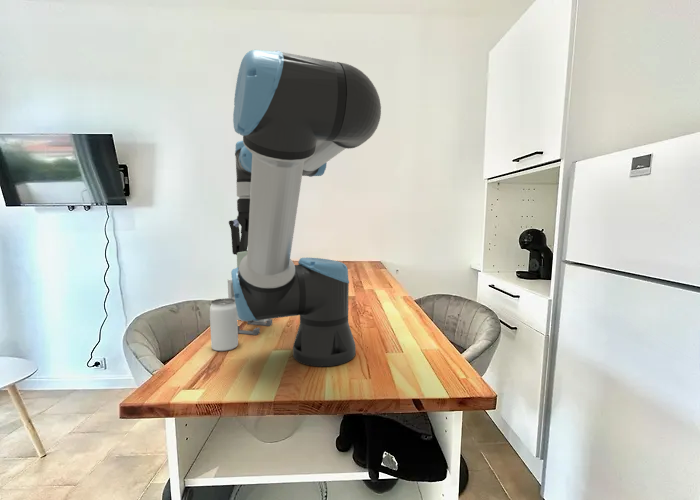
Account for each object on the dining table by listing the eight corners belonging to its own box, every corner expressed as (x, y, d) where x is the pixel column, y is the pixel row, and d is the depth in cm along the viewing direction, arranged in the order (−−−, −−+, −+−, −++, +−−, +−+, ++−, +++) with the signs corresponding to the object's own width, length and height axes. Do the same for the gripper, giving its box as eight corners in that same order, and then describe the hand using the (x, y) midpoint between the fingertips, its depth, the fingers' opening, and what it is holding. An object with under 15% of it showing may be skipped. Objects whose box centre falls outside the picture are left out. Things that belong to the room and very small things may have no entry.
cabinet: (256, 335, 98) (255, 289, 97) (208, 330, 102) (206, 286, 100) (284, 315, 116) (283, 277, 115) (242, 312, 120) (241, 275, 118)
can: (229, 352, 86) (227, 305, 85) (206, 350, 87) (203, 303, 86) (242, 343, 92) (241, 298, 91) (220, 341, 94) (218, 297, 92)
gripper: (284, 198, 101) (285, 278, 104) (231, 198, 106) (234, 275, 108) (272, 197, 94) (274, 283, 97) (216, 197, 98) (219, 280, 101)
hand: (253, 279), depth 103 cm, fingers closed on door, 4 cm apart
